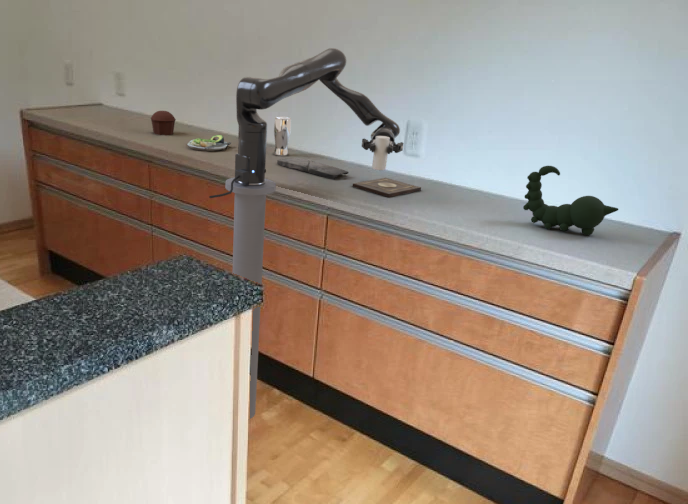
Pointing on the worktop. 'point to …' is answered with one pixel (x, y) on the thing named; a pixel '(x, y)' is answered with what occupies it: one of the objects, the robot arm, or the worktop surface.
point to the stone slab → (312, 167)
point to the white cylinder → (380, 152)
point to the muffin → (163, 123)
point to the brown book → (386, 187)
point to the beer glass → (282, 135)
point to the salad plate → (209, 144)
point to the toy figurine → (564, 207)
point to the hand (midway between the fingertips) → (381, 149)
